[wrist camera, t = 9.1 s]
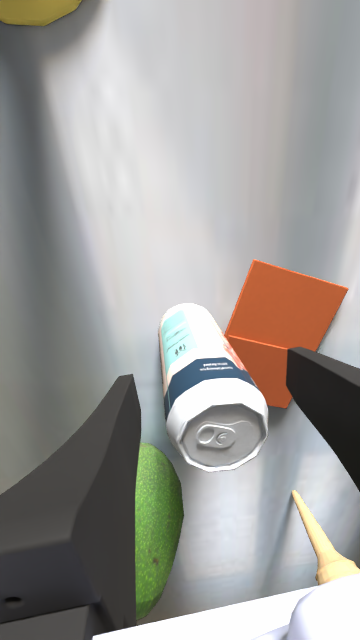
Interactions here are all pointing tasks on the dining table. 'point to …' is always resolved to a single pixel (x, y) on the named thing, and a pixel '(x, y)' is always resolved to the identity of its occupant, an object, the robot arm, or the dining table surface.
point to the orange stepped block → (279, 323)
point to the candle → (35, 11)
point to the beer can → (208, 393)
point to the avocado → (155, 525)
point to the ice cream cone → (323, 548)
